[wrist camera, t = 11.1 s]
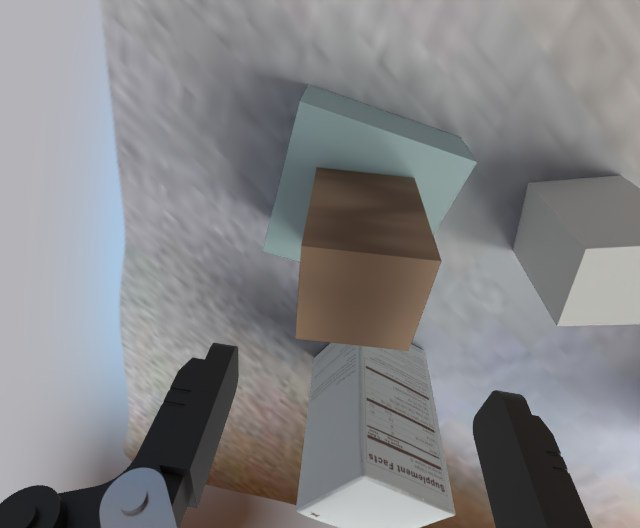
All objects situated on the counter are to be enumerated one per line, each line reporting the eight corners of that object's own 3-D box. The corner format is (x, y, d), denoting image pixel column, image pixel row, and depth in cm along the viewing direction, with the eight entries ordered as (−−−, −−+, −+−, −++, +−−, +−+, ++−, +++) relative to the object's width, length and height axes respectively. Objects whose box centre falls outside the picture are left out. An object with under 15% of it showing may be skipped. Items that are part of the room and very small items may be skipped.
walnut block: (414, 177, 18) (441, 261, 13) (394, 256, 21) (408, 350, 16) (316, 167, 18) (301, 245, 13) (310, 247, 21) (295, 338, 16)
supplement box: (374, 388, 36) (380, 544, 26) (311, 356, 33) (290, 514, 23) (428, 350, 32) (460, 518, 22) (360, 312, 29) (361, 479, 19)
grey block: (620, 175, 21) (714, 242, 15) (592, 246, 24) (663, 323, 18) (528, 182, 22) (585, 249, 16) (512, 250, 25) (557, 326, 19)
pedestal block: (459, 135, 21) (477, 162, 18) (394, 254, 26) (399, 291, 23) (309, 82, 20) (299, 101, 17) (274, 217, 25) (262, 251, 22)
